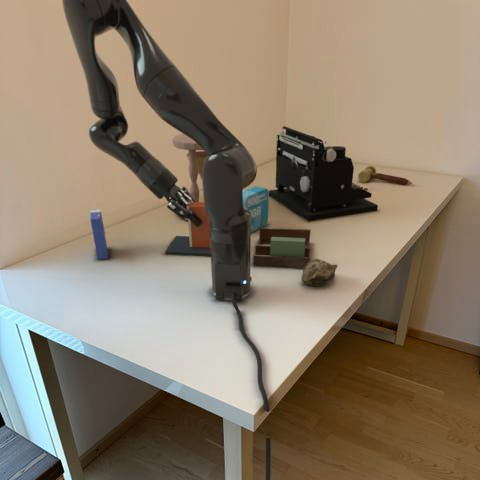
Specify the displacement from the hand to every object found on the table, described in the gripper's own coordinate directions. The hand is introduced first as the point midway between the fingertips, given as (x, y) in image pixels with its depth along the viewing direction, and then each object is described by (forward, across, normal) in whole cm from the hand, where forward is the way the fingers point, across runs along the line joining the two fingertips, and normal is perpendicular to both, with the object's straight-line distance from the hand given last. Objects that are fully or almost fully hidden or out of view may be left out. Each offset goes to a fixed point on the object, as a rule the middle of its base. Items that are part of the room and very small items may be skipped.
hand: (201, 221), depth 131 cm
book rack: (+22, +2, +11) cm, 25 cm away
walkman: (-14, +8, -25) cm, 30 cm away
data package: (+14, -17, +3) cm, 23 cm away
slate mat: (+6, 0, -5) cm, 8 cm away
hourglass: (+2, -29, -10) cm, 31 cm away
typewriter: (+30, -45, +19) cm, 57 cm away
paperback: (+23, +8, +12) cm, 27 cm away
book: (+6, 0, -4) cm, 7 cm away
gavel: (+49, -75, +38) cm, 97 cm away
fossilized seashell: (+29, +18, +18) cm, 39 cm away
